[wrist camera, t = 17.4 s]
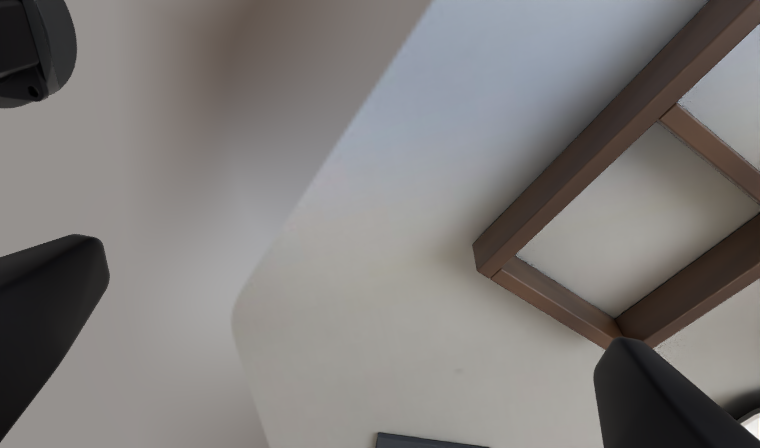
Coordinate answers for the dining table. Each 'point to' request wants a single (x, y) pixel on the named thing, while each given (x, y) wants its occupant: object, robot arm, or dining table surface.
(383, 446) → the coaster
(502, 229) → the frame
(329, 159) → the dining table surface
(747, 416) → the plate
